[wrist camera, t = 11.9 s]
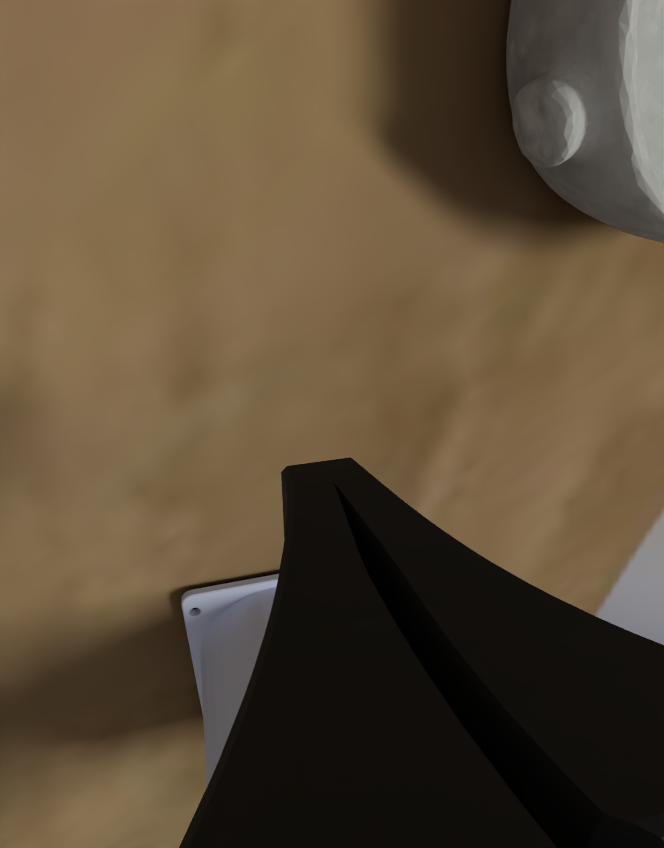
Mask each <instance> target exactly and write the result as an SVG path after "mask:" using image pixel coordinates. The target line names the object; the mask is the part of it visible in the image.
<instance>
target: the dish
mask: <svg viewBox="0 0 664 848" xmlns="http://www.w3.org/2000/svg"><path fill="white" fill-rule="evenodd" d="M506 66H507V83H508V93H509V101H510V106H511V111H512V116H513V130H514V133H515V137H516V140H517V143H518V145H519V148H520V150H521V152H522V154H523V155H524V156H525V157H526V158H527V159H528V160H529V161H530V162H531V163H532V165H533V166H534V168H535V170H536V171H537V173H538V174H539V175H540V176H541V177H542V179H543V180H544V181H545V182H546V183H547V184H548V185H549V187H550V188H552V189H553V190H554V191H555V192H556V193H557V194H558V195H559V196H560V197H561V198H563V199H564V200H565V201H567V202H568V203H570V204H571V205H573V206H574V207H576V208H577V209H578V210H580V211H581V212H583V213H585V214H587V215H589V216H591V217H593V218H595V219H597V220H599V221H601V222H603V223H605V224H607V225H609V226H612V227H614V228H616V229H618V230H621V231H623V232H626V233H629V234H632V235H635V236H639V237H643V238H647V239H651V240H655V241H659V242H663V243H664V0H511V6H510V14H509V24H508V33H507V47H506Z"/></svg>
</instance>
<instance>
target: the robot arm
mask: <svg viewBox="0 0 664 848" xmlns="http://www.w3.org/2000/svg"><path fill="white" fill-rule="evenodd" d="M281 476H282V497H283V517H284V538H285V541H284V548H283V554H282V560H281V565H280V571H279V574H275V575H269V576H264V577H258V578H253V579H247V580H242V581H236V582H231V583H225V584H220V585H214V586H209V587H203V588H198V589H193V590H189V591H187V592H185V593H184V594H183V596H182V599H181V605H182V611H183V616H184V621H185V626H186V631H187V636H188V641H189V647H190V652H191V657H192V662H193V667H194V672H195V677H196V683H197V688H198V693H199V698H200V703H201V708H202V713H203V722H204V744H205V766H206V788H207V789H206V791H205V793H204V795H203V797H202V799H201V802H200V804H199V806H198V808H197V810H196V812H195V814H194V817H193V819H192V821H191V823H190V825H189V827H188V830H187V832H186V834H185V836H184V838H183V840H182V843H181V845H180V847H179V848H664V645H662V644H659V643H657V642H654V641H652V640H649V639H647V638H644V637H642V636H639V635H637V634H634V633H632V632H630V631H627V630H624V629H623V628H620V627H618V626H616V625H613V624H611V623H609V622H607V621H604V620H602V619H599V618H598V617H595V616H593V615H591V614H589V613H587V612H585V611H583V610H581V609H579V608H577V607H575V606H572V605H570V604H568V603H566V602H564V601H562V600H560V599H558V598H556V597H554V596H552V595H550V594H548V593H546V592H544V591H542V590H540V589H538V588H536V587H534V586H533V585H531V584H529V583H527V582H525V581H523V580H522V579H520V578H518V577H516V576H515V575H513V574H511V573H509V572H508V571H506V570H504V569H502V568H501V567H499V566H497V565H495V564H494V563H492V562H490V561H489V560H487V559H485V558H484V557H482V556H481V555H479V554H477V553H476V552H474V551H473V550H471V549H470V548H468V547H467V546H465V545H464V544H462V543H461V542H459V541H458V540H456V539H455V538H453V537H452V536H450V535H449V534H447V533H446V532H444V531H443V530H441V529H440V528H439V527H437V526H436V525H435V524H433V523H432V522H430V521H429V520H428V519H426V518H425V517H424V516H422V515H421V514H420V513H418V512H417V511H416V510H414V509H413V508H412V507H410V506H409V505H408V504H407V503H405V502H404V501H403V500H401V499H400V498H399V497H398V496H397V495H395V494H394V493H393V492H392V491H390V490H389V489H388V488H387V487H386V486H384V485H383V484H382V483H381V482H379V481H378V480H377V479H376V478H375V477H373V476H372V475H371V474H370V473H369V472H368V471H366V470H365V469H364V468H363V467H362V466H360V465H359V464H358V463H357V462H355V461H354V460H353V459H352V458H351V457H350V458H343V459H336V460H329V461H321V462H314V463H307V464H299V465H292V466H287V467H286V468H285V469H284V470H283V471H282V472H281ZM192 608H197V609H192Z"/></svg>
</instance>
